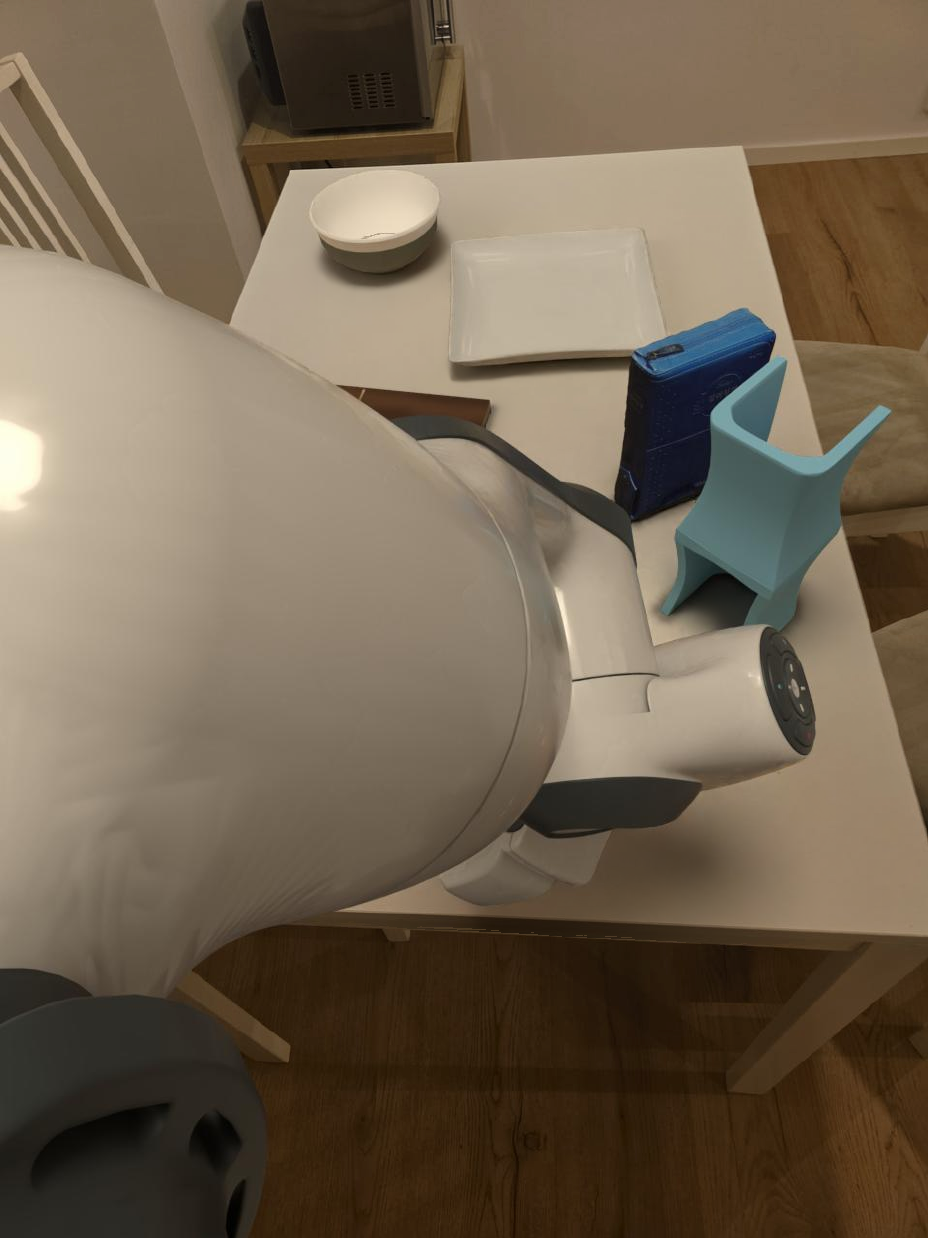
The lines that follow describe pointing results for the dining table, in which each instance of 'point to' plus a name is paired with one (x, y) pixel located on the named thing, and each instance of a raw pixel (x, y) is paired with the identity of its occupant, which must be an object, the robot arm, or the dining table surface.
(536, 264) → the square plate
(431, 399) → the board
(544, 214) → the dining table surface
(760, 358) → the book
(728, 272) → the dining table surface
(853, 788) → the dining table surface
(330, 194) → the bowl
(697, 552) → the light blue toy chair
